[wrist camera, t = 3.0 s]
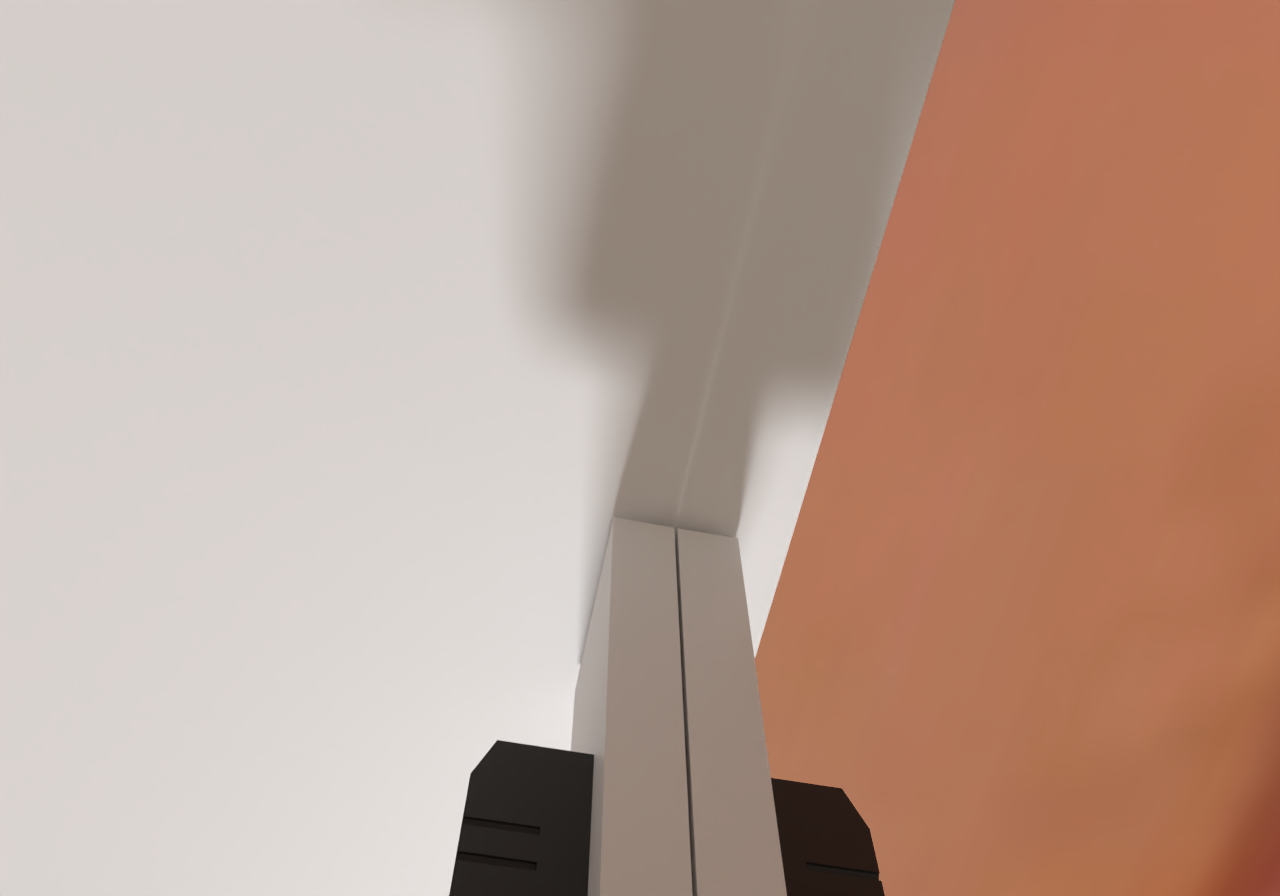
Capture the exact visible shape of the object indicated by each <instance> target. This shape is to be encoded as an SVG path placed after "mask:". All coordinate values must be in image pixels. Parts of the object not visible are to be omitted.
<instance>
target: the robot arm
mask: <svg viewBox="0 0 1280 896" xmlns="http://www.w3.org/2000/svg"><path fill="white" fill-rule="evenodd" d="M449 896H885V895H884V891H883V886H882V882H881V881H879V869H878V864H877V860H876V855H875V851H874V847H873V842H872V838H871V833H870V829H869V828H868V826H867V825H866V823H865V822H864V820H863V819H862V817H861V816H860V815H859V813H858V812H857V810H856V809H855V807H854V806H853V804H852V803H851V801H850V800H849V799H848V797H847V796H846V794H845V793H844V791H843V790H842V789H841V788H834V787H828V786H821V785H814V784H808V783H801V782H794V781H788V780H781V779H774V778H771V775H770V768H769V761H768V753H767V746H766V739H765V732H764V724H763V717H762V710H761V702H760V695H759V688H758V680H757V673H756V666H755V659H754V651H753V644H752V637H751V629H750V622H749V615H748V607H747V600H746V593H745V585H744V578H743V571H742V564H741V556H740V549H739V542H738V538H733V537H727V536H721V535H715V534H709V533H703V532H697V531H691V530H685V529H679V528H678V529H677V533H676V537H675V533H674V527H668V526H662V525H656V524H650V523H644V522H638V521H632V520H626V519H620V518H614V517H613V520H612V525H611V529H610V534H609V538H608V543H607V548H606V552H605V557H604V561H603V566H602V570H601V575H600V579H599V584H598V588H597V593H596V598H595V602H594V607H593V611H592V616H591V620H590V625H589V629H588V634H587V638H586V643H585V648H584V652H583V657H582V661H581V666H580V670H579V675H578V679H577V684H576V688H575V698H574V711H573V725H572V739H571V751H567V750H560V749H554V748H547V747H540V746H534V745H527V744H520V743H514V742H507V741H500V740H497V741H496V742H495V744H494V745H493V746H492V747H491V749H490V750H489V751H488V752H487V754H486V755H485V756H484V757H483V759H482V760H481V761H480V762H479V764H478V765H477V766H476V767H475V769H474V770H473V771H472V772H471V774H470V779H469V785H468V790H467V796H466V802H465V808H464V813H463V819H462V825H461V830H460V836H459V842H458V848H457V853H456V859H455V865H454V870H453V876H452V882H451V888H450V893H449Z"/></svg>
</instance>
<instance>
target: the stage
mask: <svg viewBox="0 0 1280 896" xmlns="http://www.w3.org/2000/svg"><path fill="white" fill-rule="evenodd" d="M954 2H955V0H0V896H449V893H450V888H451V882H452V876H453V870H454V865H455V859H456V853H457V848H458V842H459V836H460V830H461V825H462V819H463V813H464V808H465V802H466V796H467V790H468V785H469V779H470V774H471V772H472V771H473V770H474V769H475V767H476V766H477V765H478V764H479V762H480V761H481V760H482V759H483V757H484V756H485V755H486V754H487V752H488V751H489V750H490V749H491V747H492V746H493V745H494V744H495V742H496V741H497V740H500V741H507V742H514V743H520V744H527V745H534V746H540V747H547V748H554V749H560V750H567V751H571V739H572V725H573V711H574V698H575V688H576V684H577V679H578V675H579V670H580V666H581V661H582V657H583V652H584V648H585V643H586V638H587V634H588V629H589V625H590V620H591V616H592V611H593V607H594V602H595V598H596V593H597V588H598V584H599V579H600V575H601V570H602V566H603V561H604V557H605V552H606V548H607V543H608V538H609V534H610V529H611V525H612V520H613V517H614V518H620V519H626V520H632V521H638V522H644V523H650V524H656V525H662V526H668V527H674V533H675V537H676V533H677V529H678V528H679V529H685V530H691V531H697V532H703V533H709V534H715V535H721V536H727V537H733V538H738V542H739V549H740V556H741V564H742V571H743V578H744V585H745V593H746V600H747V607H748V615H749V622H750V629H751V637H752V644H753V651H754V659H755V656H756V653H757V650H758V646H759V643H760V640H761V637H762V633H763V630H764V627H765V623H766V620H767V617H768V614H769V610H770V607H771V604H772V600H773V597H774V594H775V591H776V587H777V584H778V581H779V577H780V574H781V571H782V568H783V564H784V561H785V558H786V554H787V551H788V548H789V545H790V541H791V538H792V535H793V531H794V528H795V525H796V522H797V518H798V515H799V512H800V508H801V505H802V502H803V499H804V495H805V492H806V489H807V485H808V482H809V479H810V476H811V472H812V469H813V466H814V462H815V459H816V456H817V453H818V449H819V446H820V443H821V439H822V436H823V433H824V430H825V426H826V423H827V420H828V416H829V413H830V410H831V407H832V403H833V400H834V397H835V393H836V390H837V387H838V384H839V380H840V377H841V374H842V370H843V367H844V364H845V361H846V357H847V354H848V351H849V347H850V344H851V341H852V338H853V334H854V331H855V328H856V324H857V321H858V318H859V315H860V311H861V308H862V305H863V301H864V298H865V295H866V292H867V288H868V285H869V282H870V278H871V275H872V272H873V269H874V265H875V262H876V259H877V255H878V252H879V249H880V246H881V242H882V239H883V236H884V232H885V229H886V226H887V223H888V219H889V216H890V213H891V209H892V206H893V203H894V200H895V196H896V193H897V190H898V186H899V183H900V180H901V177H902V173H903V170H904V167H905V163H906V160H907V157H908V154H909V150H910V147H911V144H912V140H913V137H914V134H915V131H916V127H917V124H918V121H919V117H920V114H921V111H922V108H923V104H924V101H925V98H926V94H927V91H928V88H929V85H930V81H931V78H932V75H933V71H934V68H935V65H936V62H937V58H938V55H939V52H940V48H941V45H942V42H943V39H944V35H945V32H946V29H947V25H948V22H949V19H950V16H951V12H952V9H953V6H954Z"/></svg>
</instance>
